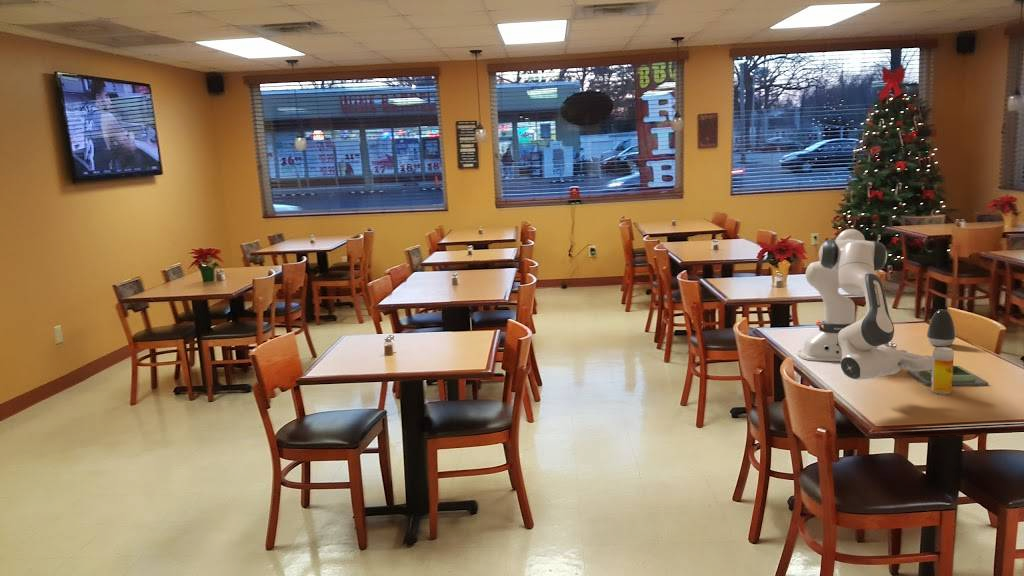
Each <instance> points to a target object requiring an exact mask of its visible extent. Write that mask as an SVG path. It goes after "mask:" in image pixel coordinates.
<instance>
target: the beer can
mask: <svg viewBox="0 0 1024 576" xmlns="http://www.w3.org/2000/svg"><path fill="white" fill-rule="evenodd" d="M954 355H955V353H954V351H953V348H952V347H951V348H950V347H948V346H946V347H940V346H936V347H934V349H933V350H932V355H931V356H932V357H933V360H934V367H933V369H932V377H931V386H930V390H931V391H932V393H934V392H935V393H934V394H937V393H939V394H938V395H949V394H950V393H951V392H952V391H953V386H952V378H953V365H954Z"/></svg>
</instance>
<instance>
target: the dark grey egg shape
mask: <svg viewBox="0 0 1024 576" xmlns="http://www.w3.org/2000/svg"><path fill="white" fill-rule="evenodd" d="M926 336H927V339H928V342H929V343H930V344H931V345H933V346H936V347H940V346H941V347H949V346H951V345H953V343H954V341H955V339H956V327H955V324H954V321H953V317H952V315H951V314H950V312H949V311H948V310H946V309H941V308H939V309H938V310H936V311H935V312H934V313H933V315H932V317H931V319H930V322H929V325H928V328H927V333H926Z"/></svg>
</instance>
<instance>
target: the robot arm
mask: <svg viewBox="0 0 1024 576" xmlns="http://www.w3.org/2000/svg"><path fill="white" fill-rule="evenodd" d="M819 247H820V248H819V250H818V261H813V262H810V263H809V264H808V266H807V267H806V269H805V279H806V281H807V284H809V285H810V286H811V287H813V288H814V289H815V290H816V291H817V292H818V293H819V295H820V297H821V299H822V301H823V308H824V309H823V310H824V320H823V321H820V320H817V321H815V325H816V326H817V327H818V330H817V331H815V332H814V333H813V334H811V335H810V336H808V337H807V338H805V341H803V342H804V343H803V348H802V349H798V350H797V353H798V354H797V355H799V356H800V358H801V359H803V360H806V361H816V362H817V361H821V362H823V361H824V362H840V368H841V369H840V370H842V372H843V374H844V375H845V376H846V377H848V378H850V379H853V380H860V381H861V380H869V379H870V380H871V379H875V378H877V377H884V376H890V375H891V376H892V375H895V374H898V373H899V372H900V371H901V369H904V370H907V371H908V370H911V371H927V370H932V369H933V367H934V360H933V357H932V356H933V355H919V354H917V353H911V352H907V350H905V349H895V348H893V347H891V346H883V345H885V344H888V343H890V342H891V341H892V340H893V338H894V336H895V326H894V322H893V321H892V318H891V316H890V312H889V308H888V303H887V298H886V293H885V289H884V285H883V283H882V280H881V278H880V277H879V276H878V274H877V272H878V271H881V270H883V268H884V267H885V265H886V263H887V260H888V252H887V248H886V246H885V245H884V244H883V243H882V242H879V241H876V240H866V239H865V236H864V234H863V233H862V232H861V231H859V230H857V229H854V228H849V229H845V230H842V231H841V232H840V233H839V234H838V235H837V236H836V238H835V239H827V240H824V241H823V242H822V244H821V246H819ZM839 289H841V290H842V291H844V293H847V294H848V295H851V296H855V297H864V298H865V305H866V310H867V311H866V313H865V315H864V316H863V317H861V319H859V320H857V321H855V316H856V315H855V313H856V312H855V309H856V304H855V302H854V301H853V300H852V299H851V298H850V297H847V296H845V295H843V294H841V293H840V292H839ZM799 356H798V357H799Z"/></svg>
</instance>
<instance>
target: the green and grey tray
mask: <svg viewBox="0 0 1024 576" xmlns="http://www.w3.org/2000/svg"><path fill="white" fill-rule="evenodd" d="M907 374H909V375H910V376H911V377H913V378H914V379H915V380H917V381H918V382H920V383H921V384H922V385H924V386H925V387H926V386H927V387H931V377H932V370H927V371H911V370H907ZM953 386H954V387H956V386H957V387H958V386H959V387H961V386H969V387H970V386H971V387H973V386H989V382H988V381H986V380H985V379H983V378H982V377H979V376H977V375H976V374H975V373H973V372H971V371H969V370H968V369H965V368H964V367H962V366H960V365H955V364H953V378H952V387H953Z"/></svg>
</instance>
